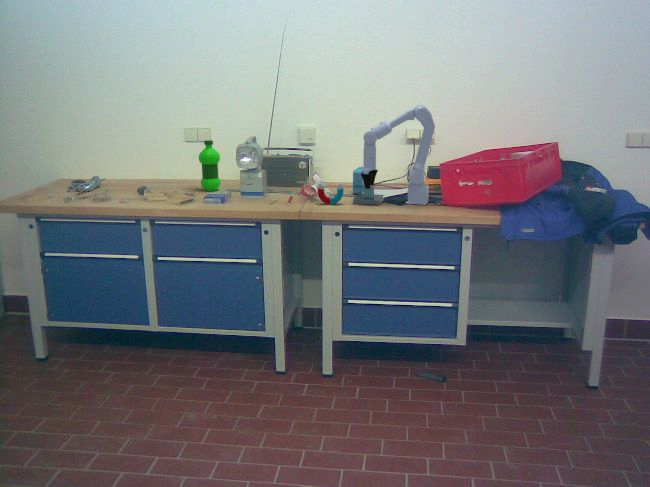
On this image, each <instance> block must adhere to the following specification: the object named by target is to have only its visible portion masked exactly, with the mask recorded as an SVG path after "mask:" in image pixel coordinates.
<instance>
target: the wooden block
mask: <svg viewBox="0 0 650 487" xmlns="http://www.w3.org/2000/svg"><path fill="white" fill-rule="evenodd" d="M374 194H375V186H370V189H365V187H364V198H373V197H374Z"/></svg>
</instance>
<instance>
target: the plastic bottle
mask: <svg viewBox="0 0 650 487" xmlns="http://www.w3.org/2000/svg"><path fill="white" fill-rule="evenodd" d="M203 142H204V144H203V145H204V146H205V148H203V149H202V151H201V152H200V153H199V155H198V162H199V163H200V164H201V172H202V174H201V175H202V177H201V180H200V185H201V188H202V189H203V190H204V191H206V192H215V190H216V191H217V190H218V189H219V188H220V186H221V182H222V181H221V178H220V177H219V163H220V161H221V154H220V153H219V151H218V150H216V149H214V147H213V145H214V141H213V140H212V139H211V140H209V139H207V140H204V141H203Z"/></svg>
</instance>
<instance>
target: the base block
mask: <svg viewBox="0 0 650 487" xmlns="http://www.w3.org/2000/svg"><path fill="white" fill-rule="evenodd" d="M383 196H384V198H383ZM352 200H353V202H352V204H353V205H361V206H362V205H363V206H374V207H375V206H377V207H378V206H380V205H381V204H382V203H383V202H384V201H385V194H376V193H374V197H373V198H364V194H356V196H355V197H353V198H352Z"/></svg>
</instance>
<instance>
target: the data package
mask: <svg viewBox="0 0 650 487" xmlns="http://www.w3.org/2000/svg"><path fill="white" fill-rule="evenodd" d="M361 167H362V166H358V167H357V168H355V169H354V170H353V171H352V194H353V195H358V194H362V193H363V192H364V187H365V186H364V181H363V178H362V176H361V173H364V170H363V169H361Z"/></svg>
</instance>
